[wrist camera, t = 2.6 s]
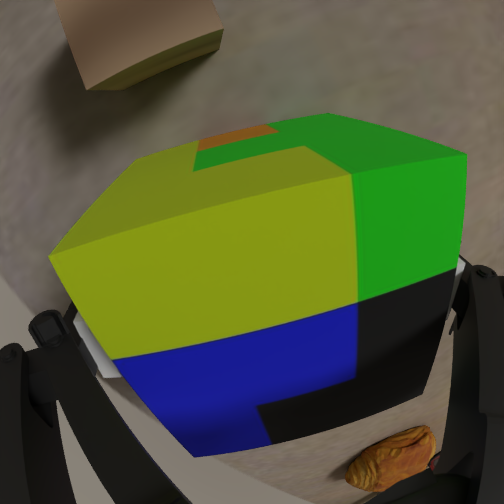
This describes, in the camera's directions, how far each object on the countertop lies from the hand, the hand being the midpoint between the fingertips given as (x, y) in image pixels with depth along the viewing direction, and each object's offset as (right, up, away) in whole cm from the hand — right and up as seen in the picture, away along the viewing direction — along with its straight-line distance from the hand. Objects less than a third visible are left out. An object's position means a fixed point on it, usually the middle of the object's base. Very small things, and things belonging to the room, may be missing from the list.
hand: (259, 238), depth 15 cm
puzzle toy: (0, +1, +2) cm, 2 cm away
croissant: (+21, -31, +23) cm, 44 cm away
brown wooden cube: (-5, +10, -4) cm, 12 cm away
